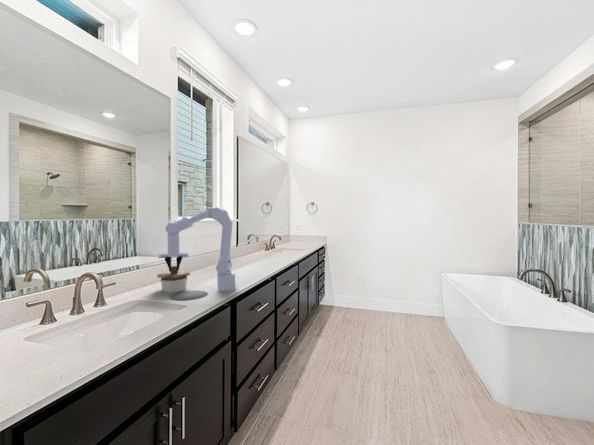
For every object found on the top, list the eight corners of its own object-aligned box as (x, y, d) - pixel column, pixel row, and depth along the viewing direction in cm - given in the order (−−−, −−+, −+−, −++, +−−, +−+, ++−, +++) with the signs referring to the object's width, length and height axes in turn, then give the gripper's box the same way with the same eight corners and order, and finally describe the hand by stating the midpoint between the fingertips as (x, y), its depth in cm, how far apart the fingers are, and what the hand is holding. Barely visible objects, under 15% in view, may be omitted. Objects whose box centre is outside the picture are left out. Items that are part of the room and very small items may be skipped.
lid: (191, 272, 161) (191, 264, 161) (188, 276, 146) (188, 267, 146) (161, 274, 157) (161, 265, 157) (153, 278, 142) (153, 268, 142)
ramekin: (181, 294, 145) (181, 280, 145) (155, 294, 145) (155, 280, 145) (191, 287, 158) (191, 275, 158) (168, 287, 159) (167, 275, 158)
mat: (209, 290, 151) (208, 289, 151) (206, 300, 134) (206, 299, 134) (172, 292, 147) (172, 291, 147) (165, 303, 129) (165, 302, 129)
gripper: (157, 246, 146) (157, 273, 146) (187, 245, 149) (187, 271, 149) (160, 245, 152) (160, 270, 153) (188, 244, 156) (189, 269, 156)
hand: (174, 271), depth 152 cm, fingers closed on lid, 3 cm apart
